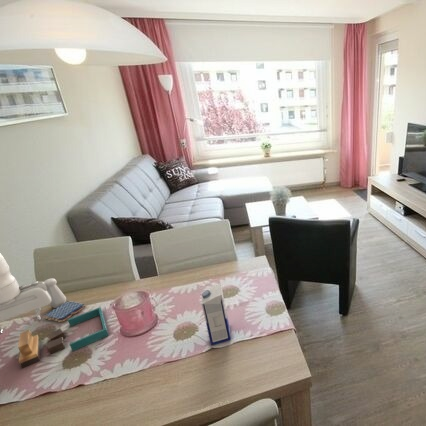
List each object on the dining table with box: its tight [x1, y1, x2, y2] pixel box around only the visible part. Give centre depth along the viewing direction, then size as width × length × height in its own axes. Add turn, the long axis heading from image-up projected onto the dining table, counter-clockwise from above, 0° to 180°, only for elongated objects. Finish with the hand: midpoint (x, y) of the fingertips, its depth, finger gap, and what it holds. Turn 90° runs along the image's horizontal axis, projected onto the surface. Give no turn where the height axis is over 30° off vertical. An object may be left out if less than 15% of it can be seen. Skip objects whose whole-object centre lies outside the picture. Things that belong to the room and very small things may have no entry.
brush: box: [17, 329, 42, 369], centre depth 102 cm, size 4×12×7 cm, turn 41°
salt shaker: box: [42, 277, 67, 309], centre depth 127 cm, size 6×6×13 cm
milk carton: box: [201, 283, 232, 346], centre depth 104 cm, size 7×7×20 cm
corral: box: [67, 306, 109, 352], centre depth 113 cm, size 11×18×3 cm, turn 41°
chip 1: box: [46, 328, 66, 342], centre depth 109 cm, size 4×4×2 cm
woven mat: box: [43, 300, 86, 323], centre depth 123 cm, size 10×11×2 cm
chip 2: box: [47, 337, 66, 355], centre depth 105 cm, size 4×4×2 cm
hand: (19, 326), depth 99 cm, fingers open, 8 cm apart
